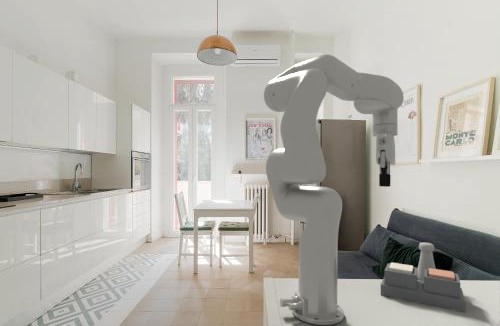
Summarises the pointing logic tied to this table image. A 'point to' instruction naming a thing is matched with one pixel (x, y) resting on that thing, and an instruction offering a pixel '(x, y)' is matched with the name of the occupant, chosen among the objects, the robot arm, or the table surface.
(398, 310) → the table surface
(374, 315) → the table surface
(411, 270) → the ivory key
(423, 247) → the salt shaker
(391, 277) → the key panel
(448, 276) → the terracotta key
